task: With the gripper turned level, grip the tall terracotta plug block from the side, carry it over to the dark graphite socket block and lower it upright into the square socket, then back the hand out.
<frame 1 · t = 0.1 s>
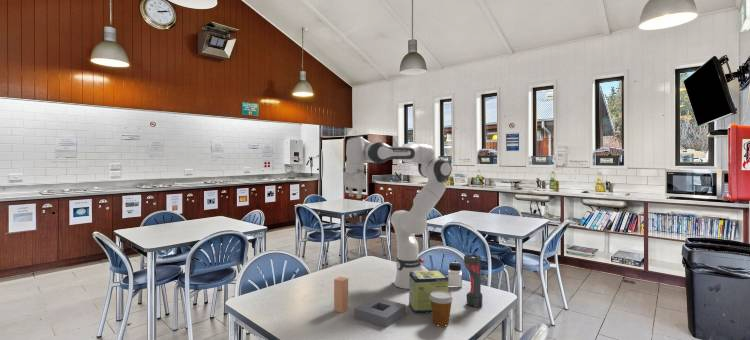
hand: (354, 197, 185), 48 cm above the table, tool pointing down, fingers open, 8 cm apart
plug block: (341, 309, 166), on the table
protein box: (428, 308, 169), on the table
flashlight: (472, 304, 173), on the table
medicine bottle: (454, 285, 199), on the table
disposable coffee cup: (440, 323, 153), on the table
socket block: (380, 315, 160), on the table
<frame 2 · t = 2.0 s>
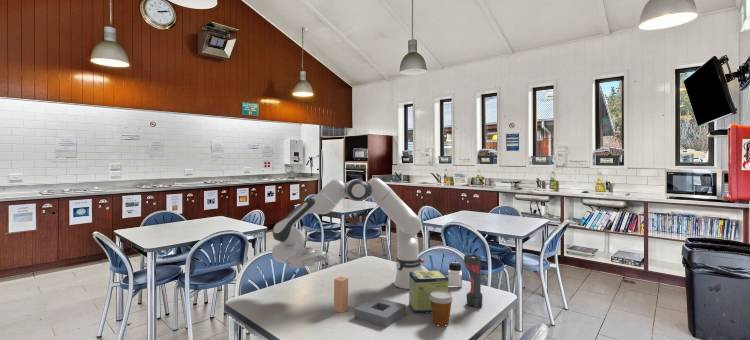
hand: (320, 261, 172), 20 cm above the table, tool horizontal, fingers open, 8 cm apart
nothing on the table moved.
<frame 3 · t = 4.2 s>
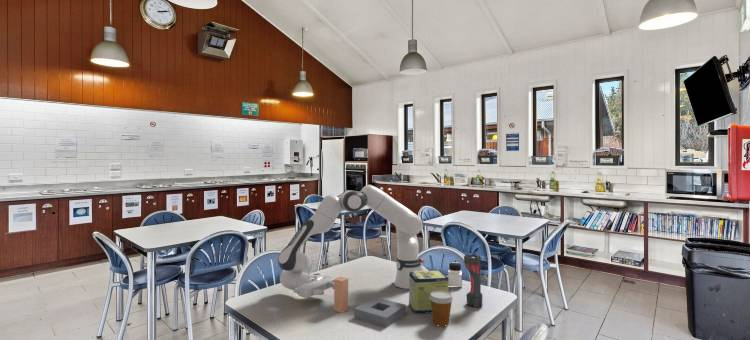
hand: (329, 290, 170), 7 cm above the table, tool horizontal, fingers open, 8 cm apart
nothing on the table moved.
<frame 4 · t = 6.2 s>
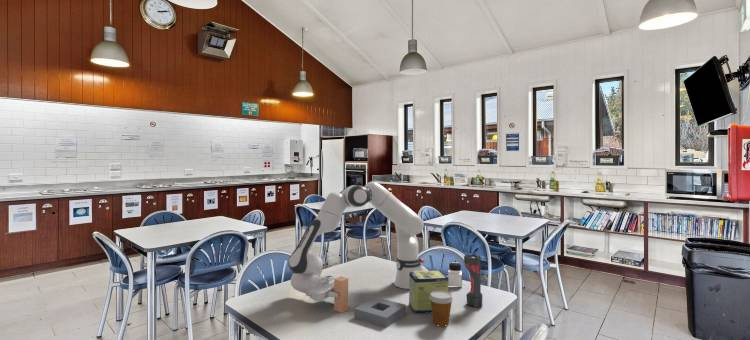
hand: (342, 293, 165), 8 cm above the table, tool horizontal, fingers closed on plug block, 4 cm apart
plug block: (341, 309, 166), on the table, touching gripper
everything else where it was.
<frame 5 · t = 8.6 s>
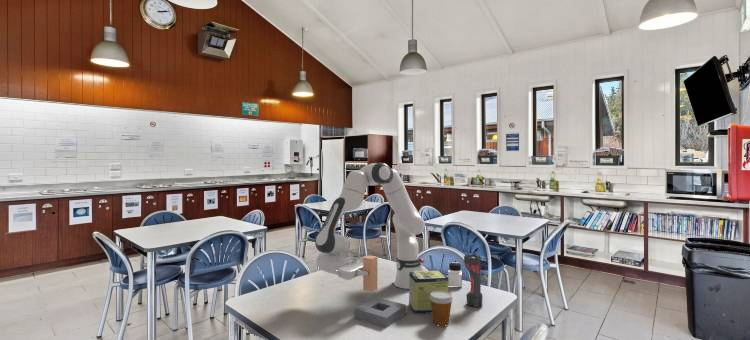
hand: (372, 271, 161), 19 cm above the table, tool horizontal, fingers closed on plug block, 4 cm apart
plug block: (370, 289, 162), point 11 cm above the table, touching gripper
everything else where it was.
when the fingers open (9 cm above the table, at t = 11.0 s): plug block stays where it is, resting on socket block.
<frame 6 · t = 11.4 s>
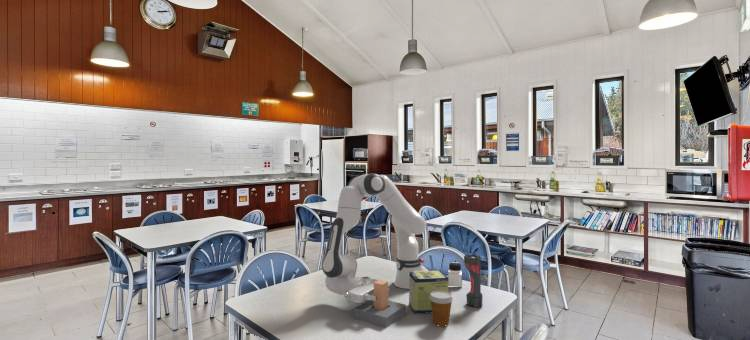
hand: (382, 294, 159), 9 cm above the table, tool horizontal, fingers open, 8 cm apart
plug block: (380, 314, 160), point 1 cm above the table, touching socket block
everything else where it was.
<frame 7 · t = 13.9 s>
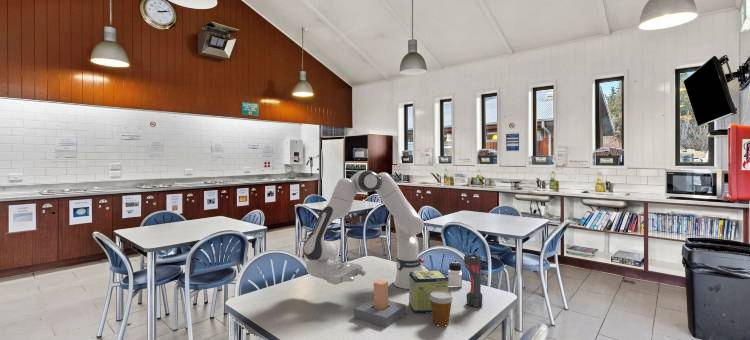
hand: (358, 276, 169), 14 cm above the table, tool horizontal, fingers open, 8 cm apart
nothing on the table moved.
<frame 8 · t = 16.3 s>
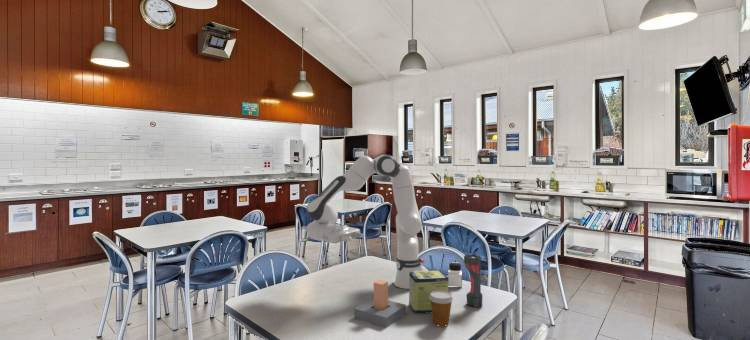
hand: (356, 237, 176), 30 cm above the table, tool horizontal, fingers open, 8 cm apart
nothing on the table moved.
at the end: plug block 0.0 cm off-centre on the socket block, point 0.6 cm above the socket block's base; plug block tilted 0°; the gripper is holding nothing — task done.
